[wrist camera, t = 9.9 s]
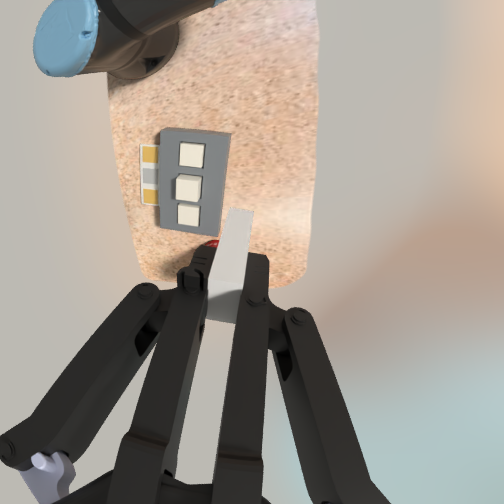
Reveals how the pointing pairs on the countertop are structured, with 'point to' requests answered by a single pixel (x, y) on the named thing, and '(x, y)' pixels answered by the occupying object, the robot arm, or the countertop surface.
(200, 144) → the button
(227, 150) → the board
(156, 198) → the card
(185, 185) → the button mid
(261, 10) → the countertop surface
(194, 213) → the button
